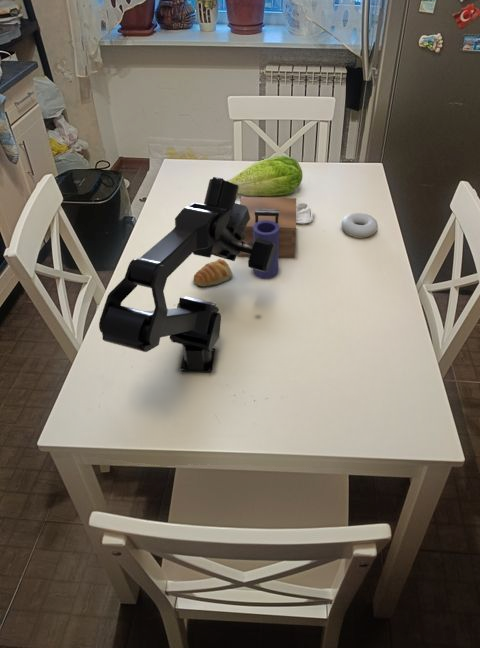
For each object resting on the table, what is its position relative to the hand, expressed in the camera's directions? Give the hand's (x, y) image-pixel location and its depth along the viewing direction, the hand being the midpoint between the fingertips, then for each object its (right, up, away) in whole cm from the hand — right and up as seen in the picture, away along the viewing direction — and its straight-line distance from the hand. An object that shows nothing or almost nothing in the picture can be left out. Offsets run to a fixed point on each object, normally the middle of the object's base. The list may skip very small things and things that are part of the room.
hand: (243, 255), depth 115 cm
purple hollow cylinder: (+5, -2, +14) cm, 15 cm away
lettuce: (+4, +25, +44) cm, 51 cm away
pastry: (-8, -4, +12) cm, 15 cm away
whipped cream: (+16, +14, +33) cm, 39 cm away
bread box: (+6, +6, +24) cm, 25 cm away
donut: (+31, +10, +28) cm, 44 cm away
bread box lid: (+6, +13, +17) cm, 22 cm away
